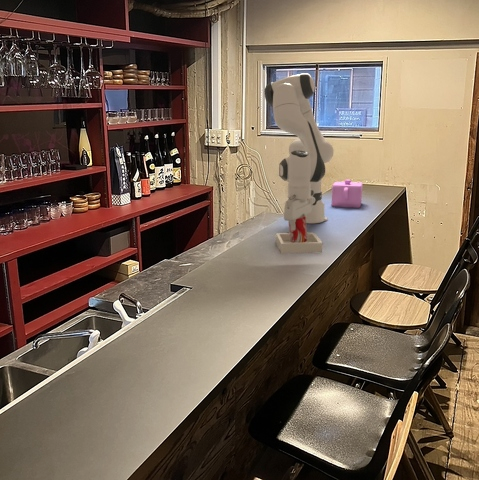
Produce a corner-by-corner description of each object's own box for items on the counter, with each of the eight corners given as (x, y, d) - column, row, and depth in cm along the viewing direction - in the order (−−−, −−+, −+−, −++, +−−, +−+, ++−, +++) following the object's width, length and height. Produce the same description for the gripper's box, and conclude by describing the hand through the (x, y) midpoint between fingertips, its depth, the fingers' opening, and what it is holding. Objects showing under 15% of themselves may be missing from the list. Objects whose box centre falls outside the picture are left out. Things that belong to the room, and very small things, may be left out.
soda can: (304, 246, 211) (302, 219, 205) (287, 244, 214) (285, 218, 208) (309, 237, 216) (308, 211, 211) (293, 236, 219) (291, 210, 213)
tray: (275, 242, 220) (275, 233, 219) (313, 241, 221) (314, 232, 220) (281, 253, 205) (281, 243, 204) (322, 252, 206) (322, 242, 205)
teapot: (362, 201, 306) (363, 176, 302) (359, 209, 283) (360, 183, 279) (335, 199, 310) (336, 175, 307) (330, 208, 287) (331, 182, 283)
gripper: (295, 198, 197) (294, 234, 201) (315, 190, 214) (314, 223, 218) (280, 196, 200) (279, 232, 204) (301, 188, 217) (300, 221, 221)
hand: (297, 227), depth 211 cm, fingers open, 7 cm apart
